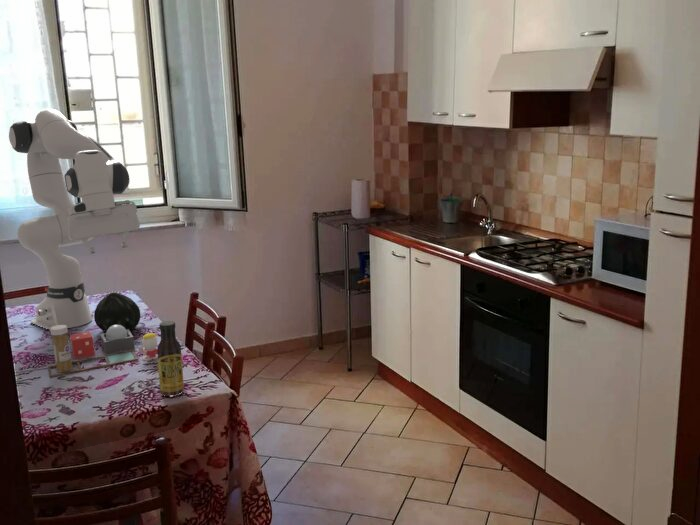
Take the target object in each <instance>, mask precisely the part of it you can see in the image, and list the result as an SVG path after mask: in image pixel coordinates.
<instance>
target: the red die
mask: <svg viewBox="0 0 700 525" xmlns="http://www.w3.org/2000/svg"><path fill="white" fill-rule="evenodd" d="M69 337H70V345H71V350H72V351H71V352H72V355H73V358H74V359H80V358H85V357H92V356H96V353H95V351H96V350H95V345H94V338H93V335H92V333H91V331H84V332H80V333H78V332H77V333H73V334H70V335H69Z"/></svg>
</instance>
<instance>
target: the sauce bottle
mask: <svg viewBox="0 0 700 525" xmlns="http://www.w3.org/2000/svg"><path fill="white" fill-rule="evenodd" d="M158 328H159V330H160V341H159V344H158V346H157V347H156V348H157V350H158V354H157V367H158V368H157V369H158V380H159V381H158V382H159V390H160V395H161V394H162V395H165V396H170V395H176V394H179V393H181V392H182V391H183V392H184V388H185V385H184V369H183V367H184V366H183V356H182V348H181V346H182V345H181V343H180V341H179V340H178V339H177V338H176V337H177V336H176V335H177V334H176V322H175V321H174V320H165V321H162V322H160V323H159V327H158ZM162 395H161V396H162Z"/></svg>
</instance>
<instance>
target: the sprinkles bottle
mask: <svg viewBox="0 0 700 525" xmlns="http://www.w3.org/2000/svg"><path fill="white" fill-rule="evenodd" d="M49 331H50V334H51V335H50V336H51V338H52V347H53V355H54V360H55V365H56V366H57V367H56V372H58V373H64V372H69V371H72V370H73V364H72V362H73V361H72V356H71V348H70V342H69V337H68V336H69V335H68V328H67V326H66V325H56V326H53V327H51V328H50V330H49Z"/></svg>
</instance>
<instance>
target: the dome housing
mask: <svg viewBox="0 0 700 525" xmlns="http://www.w3.org/2000/svg"><path fill="white" fill-rule="evenodd" d="M126 331H127V337H125V338H120V339H114V340H109V341H107V339H106V332H105V333H100V341H101V347H102V349H103V351H104V353H105V355H109V354H114V353H119V352H124V351H130V350H134V349H135V339H134V335H133V334H132V332H131V331H129V329H126Z"/></svg>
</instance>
